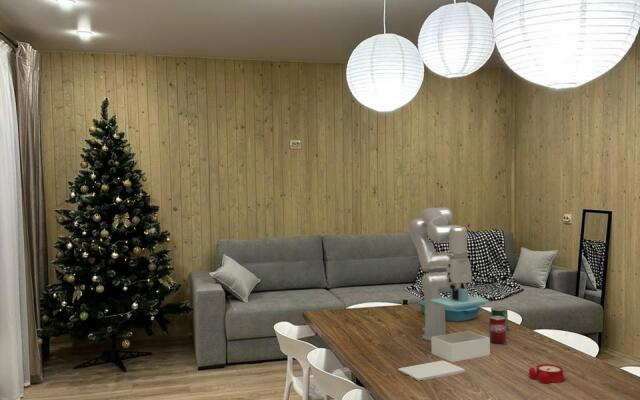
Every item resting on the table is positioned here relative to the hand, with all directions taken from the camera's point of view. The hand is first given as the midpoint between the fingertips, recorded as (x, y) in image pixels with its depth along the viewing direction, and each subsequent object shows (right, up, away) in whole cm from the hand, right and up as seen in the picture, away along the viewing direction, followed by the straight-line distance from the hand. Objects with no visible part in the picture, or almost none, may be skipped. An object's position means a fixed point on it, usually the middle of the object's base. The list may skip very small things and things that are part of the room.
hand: (459, 298), depth 246 cm
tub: (+1, -25, 0) cm, 25 cm away
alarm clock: (+25, -25, -31) cm, 47 cm away
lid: (0, -3, 0) cm, 3 cm away
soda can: (+22, -24, +18) cm, 37 cm away
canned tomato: (+30, -23, +41) cm, 56 cm away
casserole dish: (+13, -23, +76) cm, 81 cm away
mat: (-16, -26, -19) cm, 36 cm away
